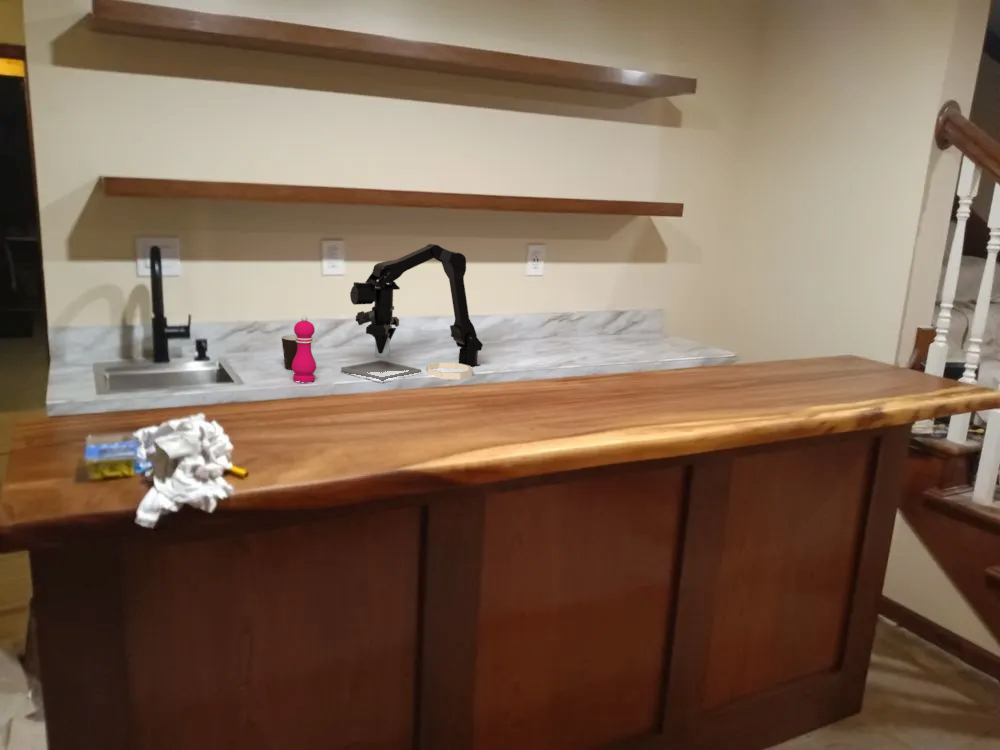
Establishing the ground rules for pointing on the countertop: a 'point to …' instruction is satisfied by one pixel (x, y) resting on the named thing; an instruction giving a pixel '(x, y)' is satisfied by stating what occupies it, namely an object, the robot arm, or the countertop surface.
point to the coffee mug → (289, 350)
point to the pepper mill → (304, 352)
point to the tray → (378, 369)
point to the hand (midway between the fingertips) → (382, 351)
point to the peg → (385, 352)
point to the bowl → (449, 374)
